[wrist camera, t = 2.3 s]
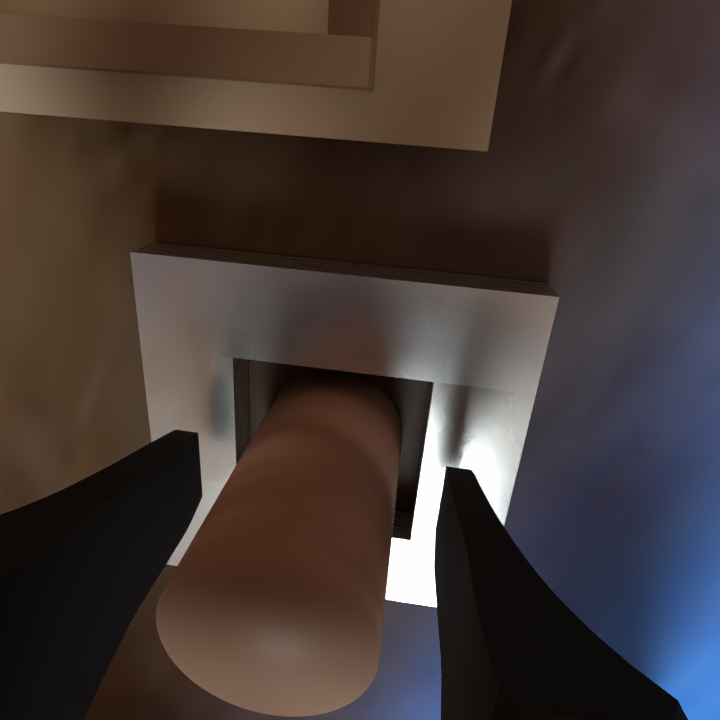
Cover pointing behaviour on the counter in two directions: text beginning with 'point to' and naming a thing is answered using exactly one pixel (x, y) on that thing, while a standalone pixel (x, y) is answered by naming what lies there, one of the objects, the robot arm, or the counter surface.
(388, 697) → the counter surface
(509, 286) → the socket block
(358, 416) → the peg
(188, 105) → the beige rectangular frame
